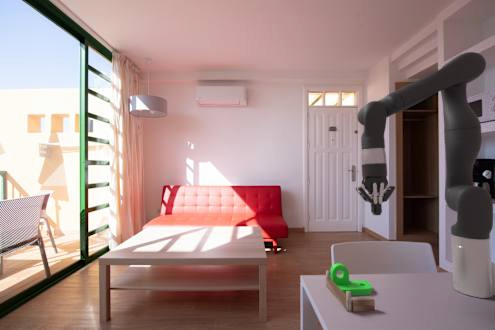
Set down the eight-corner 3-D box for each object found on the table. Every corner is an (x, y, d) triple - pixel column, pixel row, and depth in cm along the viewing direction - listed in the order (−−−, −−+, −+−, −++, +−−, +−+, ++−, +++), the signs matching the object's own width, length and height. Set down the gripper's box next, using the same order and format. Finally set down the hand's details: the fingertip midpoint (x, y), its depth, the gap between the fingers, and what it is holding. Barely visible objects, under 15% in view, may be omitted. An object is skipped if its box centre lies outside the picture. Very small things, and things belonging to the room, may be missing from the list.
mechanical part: (337, 296, 77) (337, 270, 78) (330, 287, 83) (329, 263, 84) (375, 295, 78) (374, 268, 78) (365, 286, 84) (364, 262, 84)
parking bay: (347, 284, 85) (347, 269, 85) (375, 310, 69) (374, 291, 69) (325, 285, 84) (325, 270, 85) (347, 311, 68) (347, 293, 69)
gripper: (385, 162, 88) (388, 212, 88) (349, 163, 87) (351, 214, 86) (400, 161, 81) (403, 215, 80) (360, 162, 80) (363, 217, 79)
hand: (376, 214), depth 83 cm, fingers closed
